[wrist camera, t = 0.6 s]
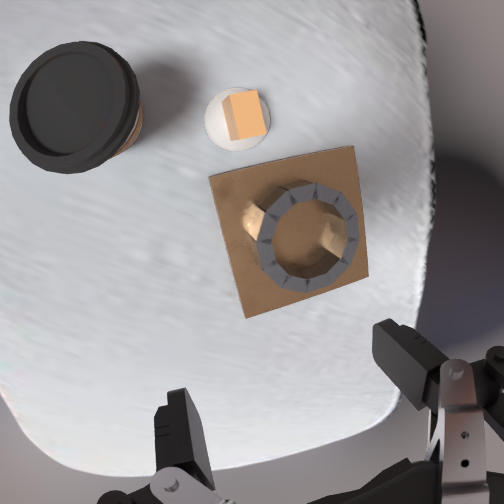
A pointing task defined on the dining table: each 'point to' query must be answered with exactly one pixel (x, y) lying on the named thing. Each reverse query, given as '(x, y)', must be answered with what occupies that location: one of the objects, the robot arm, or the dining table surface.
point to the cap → (237, 119)
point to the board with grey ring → (292, 227)
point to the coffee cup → (75, 108)
